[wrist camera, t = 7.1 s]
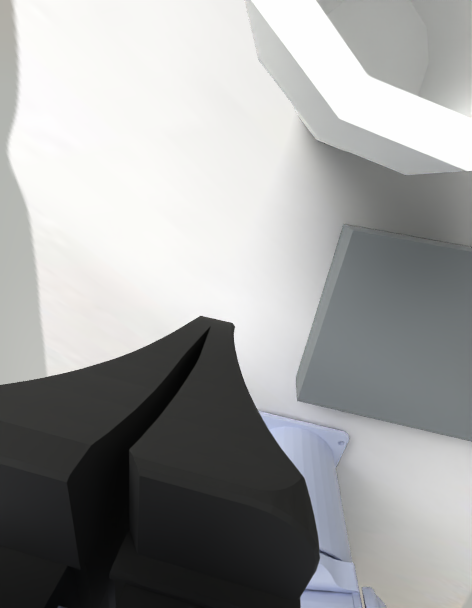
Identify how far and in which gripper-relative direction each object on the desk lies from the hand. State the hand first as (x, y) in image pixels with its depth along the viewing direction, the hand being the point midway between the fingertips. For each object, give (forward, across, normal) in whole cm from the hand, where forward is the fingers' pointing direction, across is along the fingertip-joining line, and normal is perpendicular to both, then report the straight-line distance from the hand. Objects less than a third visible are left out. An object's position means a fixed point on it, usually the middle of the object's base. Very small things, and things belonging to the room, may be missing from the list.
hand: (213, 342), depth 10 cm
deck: (+9, -16, +2) cm, 19 cm away
